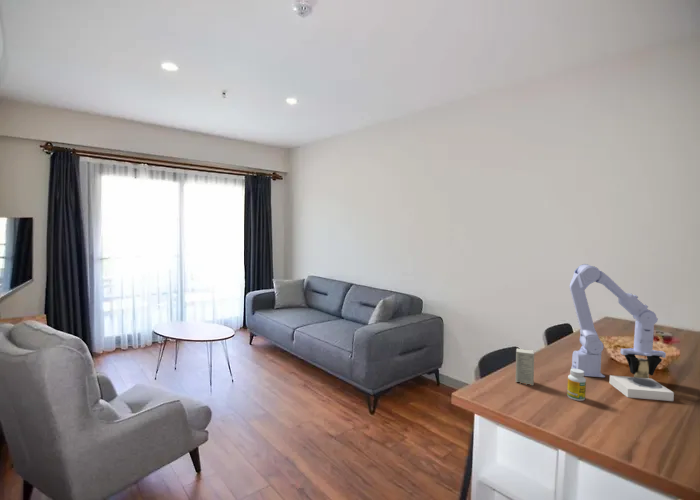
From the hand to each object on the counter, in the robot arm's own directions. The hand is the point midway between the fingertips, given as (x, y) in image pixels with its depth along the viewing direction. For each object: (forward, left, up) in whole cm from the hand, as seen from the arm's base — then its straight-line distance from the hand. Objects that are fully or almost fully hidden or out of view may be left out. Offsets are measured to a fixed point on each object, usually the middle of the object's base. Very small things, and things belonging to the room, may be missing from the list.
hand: (641, 373), depth 141 cm
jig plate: (-7, -12, -2) cm, 14 cm away
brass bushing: (0, 0, -2) cm, 2 cm away
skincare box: (-46, -12, -3) cm, 48 cm away
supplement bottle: (-32, -22, -3) cm, 39 cm away
